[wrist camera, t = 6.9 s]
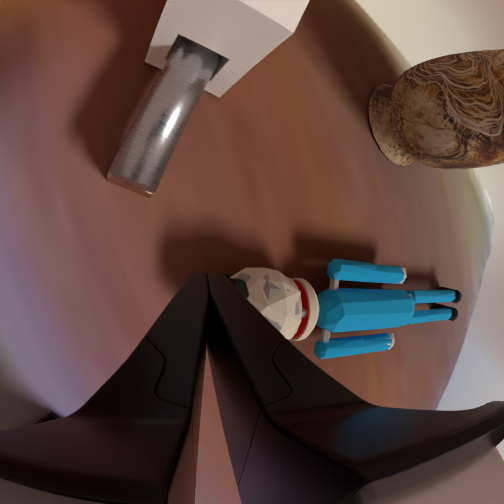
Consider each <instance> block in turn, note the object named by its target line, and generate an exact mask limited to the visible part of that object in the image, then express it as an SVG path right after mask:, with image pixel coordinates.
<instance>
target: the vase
mask: <svg viewBox="0 0 504 504" xmlns="http://www.w3.org/2000/svg"><path fill="white" fill-rule="evenodd" d="M369 120H370V125H371V128H372V132H373V135H374V137H375V139H376V142H377V143H378V145H379V146H380V148H381V150H382V152H383V153H384V154H385V156H386V157H388V158H389V159H390V160H391V161H392V162H394V163H395V164H397V165H402V166H407V165H409V164H411V163H412V162H414V161H415V160H418V161H419V162H421V163H423V164H424V165H427V166H430V167H434V168H441V169H469V168H478V167H486V166H491V165H496V164H501V163H504V49H502V50H485V51H474V52H465V53H459V54H452V55H447V56H442V57H438V58H435V59H431V60H428V61H425V62H422V63H420V64H417V65H415V66H413V67H412V68H410V69H408V70H407V71H405V72H404V73H403V74H402V75H401V76H400V77H399V79H398V80H397V82H396V84H395V86H392V85H388V84H382V85H379V86H377V87H376V88H375V89H374V91H373V93H372V95H371V97H370V101H369Z"/></svg>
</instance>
